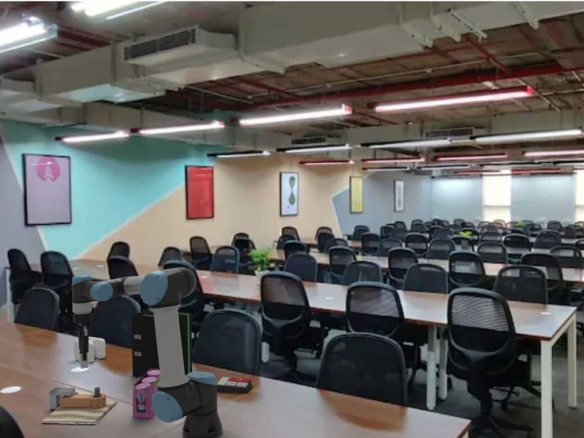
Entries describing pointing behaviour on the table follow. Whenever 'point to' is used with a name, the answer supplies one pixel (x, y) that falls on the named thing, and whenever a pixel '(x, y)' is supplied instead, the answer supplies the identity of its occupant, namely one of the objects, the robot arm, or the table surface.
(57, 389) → the keeper
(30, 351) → the table surface
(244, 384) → the calculator
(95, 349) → the cable organizer
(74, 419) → the plate
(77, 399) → the link
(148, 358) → the binder
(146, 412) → the gum box
